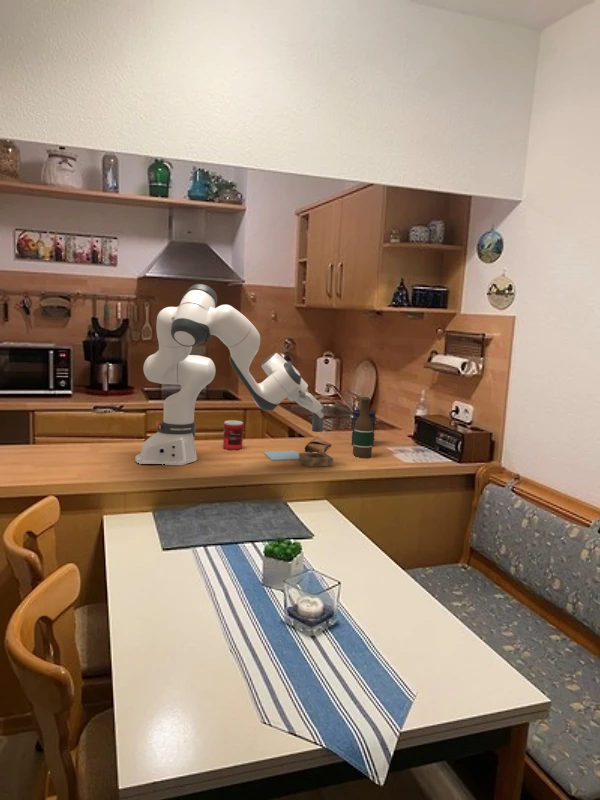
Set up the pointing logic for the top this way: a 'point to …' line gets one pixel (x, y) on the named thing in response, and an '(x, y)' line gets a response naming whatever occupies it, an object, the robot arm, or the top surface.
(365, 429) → the beer bottle
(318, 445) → the sunglasses case
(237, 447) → the canned food
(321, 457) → the socket
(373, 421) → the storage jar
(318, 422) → the plug
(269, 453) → the mat
